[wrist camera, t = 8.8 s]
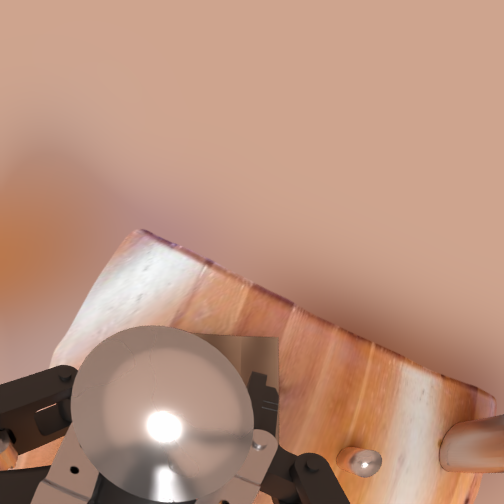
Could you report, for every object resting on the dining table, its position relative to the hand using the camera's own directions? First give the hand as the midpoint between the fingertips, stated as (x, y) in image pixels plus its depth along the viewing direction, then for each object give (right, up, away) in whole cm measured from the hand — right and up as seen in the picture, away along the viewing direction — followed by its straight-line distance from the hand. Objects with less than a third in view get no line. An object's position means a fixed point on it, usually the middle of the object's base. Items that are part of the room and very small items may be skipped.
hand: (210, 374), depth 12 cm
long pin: (-1, -6, +6) cm, 8 cm away
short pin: (+15, -22, +16) cm, 31 cm away
